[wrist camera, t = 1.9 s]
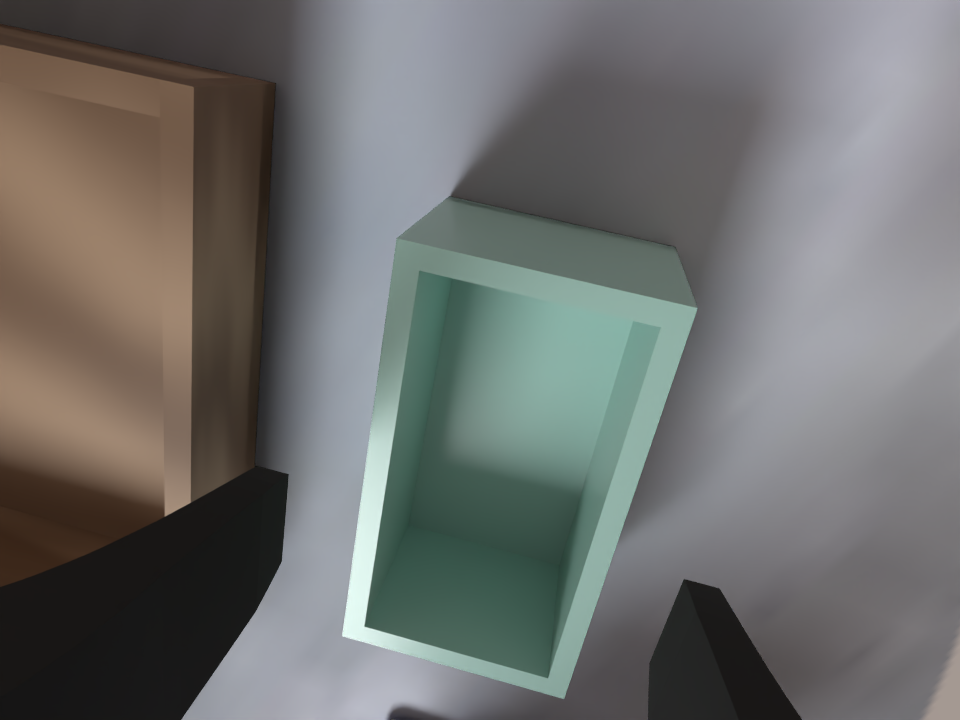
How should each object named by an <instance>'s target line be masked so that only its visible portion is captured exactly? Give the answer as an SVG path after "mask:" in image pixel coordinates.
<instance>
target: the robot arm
mask: <svg viewBox="0 0 960 720" xmlns="http://www.w3.org/2000/svg"><path fill="white" fill-rule="evenodd" d="M288 475H289V474H285V473H282V472H278V471H274V470H270V469H266V468H263V467H259V466H256V467H254V468H252V469H250V470H248V471H247V472H245V473H243V474H241V475H239V476H238V477H236V478H234V479H232V480H230V481H229V482H227V483H225V484H223V485H222V486H220V487H218V488H216V489H214V490H213V491H211V492H209V493H207V494H205V495H204V496H202V497H200V498H198V499H197V500H195V501H193V502H191V503H189V504H187V505H186V506H184V507H182V508H180V509H178V510H176V511H174V512H172V513H171V514H169V515H167V516H165V517H163V518H161V519H159V520H158V521H156V522H154V523H151V524H149V525H147V526H145V527H143V528H141V529H139V530H137V531H135V532H133V533H131V534H129V535H127V536H125V537H123V538H121V539H118V540H116V541H114V542H112V543H110V544H108V545H106V546H104V547H102V548H100V549H97V550H95V551H93V552H91V553H88V554H86V555H84V556H81V557H79V558H77V559H74V560H72V561H69V562H67V563H64V564H62V565H59V566H57V567H54V568H52V569H49V570H46V571H44V572H41V573H39V574H36V575H34V576H31V577H28V578H25V579H23V580H20V581H17V582H14V583H11V584H8V585H5V586H2V587H0V720H181V719H182V718H183V716H184V715H185V713H186V712H187V710H188V709H189V707H190V706H191V705H192V703H193V702H194V700H195V699H196V697H197V696H198V694H199V693H200V692H201V690H202V689H203V687H204V686H205V684H206V683H207V682H208V680H209V679H210V677H211V676H212V674H213V673H214V671H215V670H216V669H217V667H218V666H219V664H220V663H221V661H222V660H223V658H224V657H225V656H226V654H227V653H228V651H229V650H230V648H231V647H232V645H233V644H234V642H235V641H236V640H237V638H238V637H239V635H240V634H241V632H242V631H243V629H244V628H245V626H246V625H247V623H248V622H249V620H250V619H251V617H252V616H253V614H254V613H255V612H256V610H257V608H258V606H259V604H260V602H261V601H262V599H263V597H264V595H265V593H266V591H267V589H268V587H269V586H270V584H271V582H272V580H273V578H274V576H275V574H276V572H277V570H278V568H279V566H280V564H281V562H282V551H283V539H284V526H285V513H286V500H287V487H288ZM392 720H394V719H392ZM648 720H802V719H801V717H800V716H799V715H798V713H797V712H796V710H795V709H794V707H793V706H792V704H791V703H790V701H789V700H788V698H787V697H786V695H785V694H784V692H783V691H782V689H781V688H780V686H779V685H778V683H777V682H776V680H775V678H774V677H773V675H772V674H771V672H770V671H769V669H768V668H767V666H766V664H765V663H764V661H763V660H762V658H761V656H760V655H759V653H758V651H757V650H756V648H755V647H754V645H753V643H752V642H751V640H750V638H749V637H748V635H747V633H746V632H745V630H744V628H743V627H742V625H741V623H740V622H739V620H738V618H737V617H736V615H735V613H734V612H733V610H732V608H731V607H730V605H729V603H728V602H727V600H726V598H725V597H724V595H723V594H722V592H721V590H720V589H719V588H715V587H712V586H708V585H704V584H700V583H697V582H693V581H689V580H685V579H684V580H683V583H682V585H681V588H680V590H679V593H678V595H677V597H676V600H675V602H674V605H673V607H672V610H671V612H670V615H669V617H668V619H667V622H666V624H665V627H664V629H663V632H662V634H661V637H660V639H659V642H658V644H657V646H656V649H655V651H654V654H653V656H652V659H651V661H650V669H649V701H648Z"/></svg>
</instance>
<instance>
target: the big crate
mask: <svg viewBox="0 0 960 720" xmlns="http://www.w3.org/2000/svg"><path fill="white" fill-rule="evenodd" d="M275 84H276V83H272V82H267V81H263V80H258V79H253V78H249V77H244V76H239V75H235V74H230V73H226V72H221V71H216V70H212V69H207V68H202V67H198V66H193V65H189V64H184V63H179V62H175V61H170V60H165V59H161V58H156V57H151V56H147V55H142V54H138V53H133V52H128V51H124V50H119V49H114V48H110V47H105V46H101V45H96V44H91V43H87V42H82V41H77V40H73V39H68V38H63V37H59V36H54V35H50V34H45V33H40V32H36V31H31V30H26V29H22V28H17V27H12V26H8V25H3V24H0V587H2V586H5V585H8V584H11V583H14V582H17V581H20V580H23V579H25V578H28V577H31V576H34V575H36V574H39V573H41V572H44V571H46V570H49V569H52V568H54V567H57V566H59V565H62V564H64V563H67V562H69V561H72V560H74V559H77V558H79V557H81V556H84V555H86V554H88V553H91V552H93V551H95V550H97V549H100V548H102V547H104V546H106V545H108V544H110V543H112V542H114V541H116V540H118V539H121V538H123V537H125V536H127V535H129V534H131V533H133V532H135V531H137V530H139V529H141V528H143V527H145V526H147V525H149V524H151V523H154V522H156V521H158V520H159V519H161V518H163V517H165V516H167V515H169V514H171V513H172V512H174V511H176V510H178V509H180V508H182V507H184V506H186V505H187V504H189V503H191V502H193V501H195V500H197V499H198V498H200V497H202V496H204V495H205V494H207V493H209V492H211V491H213V490H214V489H216V488H218V487H220V486H222V485H223V484H225V483H227V482H229V481H230V480H232V479H234V478H236V477H238V476H239V475H241V474H243V473H245V472H247V471H248V470H250V469H252V468H254V467H255V449H256V430H257V412H258V394H259V376H260V358H261V339H262V321H263V303H264V285H265V267H266V248H267V230H268V212H269V194H270V175H271V157H272V139H273V121H274V103H275Z"/></svg>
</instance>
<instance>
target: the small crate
mask: <svg viewBox="0 0 960 720" xmlns="http://www.w3.org/2000/svg"><path fill="white" fill-rule="evenodd" d="M697 309H698V308H697V305H696V302H695V299H694V297H693V294H692V291H691V289H690V286H689V283H688V280H687V278H686V275H685V272H684V270H683V267H682V264H681V262H680V259H679V256H678V253H677V251H676V248H675V247H672V246H668V245H663V244H659V243H655V242H650V241H646V240H641V239H637V238H632V237H628V236H623V235H619V234H615V233H610V232H606V231H601V230H597V229H592V228H588V227H583V226H579V225H575V224H570V223H566V222H561V221H557V220H552V219H548V218H544V217H539V216H535V215H530V214H526V213H521V212H517V211H512V210H508V209H504V208H499V207H495V206H490V205H486V204H481V203H477V202H473V201H468V200H464V199H459V198H455V197H450V196H449V197H448V198H447V199H445V200H444V201H443V202H442V203H440V204H439V205H438V206H437V207H435V208H434V209H433V210H432V211H430V212H429V213H428V214H427V215H425V216H424V217H423V218H422V219H420V220H419V221H418V222H416V223H415V224H414V225H413V226H411V227H410V228H409V229H408V230H406V231H405V232H404V233H403V234H401V235H400V236H399V237H398V238H397V240H396V247H395V254H394V262H393V269H392V276H391V284H390V291H389V298H388V305H387V313H386V320H385V327H384V335H383V342H382V349H381V357H380V364H379V371H378V379H377V386H376V393H375V400H374V408H373V415H372V422H371V430H370V437H369V444H368V452H367V459H366V466H365V474H364V481H363V488H362V495H361V503H360V510H359V517H358V525H357V532H356V539H355V547H354V554H353V561H352V569H351V576H350V583H349V591H348V598H347V605H346V612H345V620H344V627H343V634H342V636H344V637H347V638H351V639H354V640H358V641H361V642H365V643H368V644H372V645H375V646H379V647H382V648H386V649H389V650H393V651H396V652H400V653H403V654H407V655H410V656H414V657H418V658H421V659H425V660H428V661H432V662H435V663H439V664H442V665H446V666H449V667H453V668H456V669H460V670H463V671H467V672H470V673H474V674H477V675H481V676H484V677H488V678H491V679H495V680H498V681H502V682H506V683H509V684H513V685H516V686H520V687H523V688H527V689H530V690H534V691H537V692H541V693H544V694H548V695H551V696H555V697H558V698H562V699H564V698H565V695H566V692H567V689H568V686H569V683H570V680H571V677H572V674H573V671H574V668H575V665H576V663H577V660H578V657H579V654H580V651H581V648H582V645H583V642H584V639H585V636H586V633H587V630H588V627H589V625H590V622H591V619H592V616H593V613H594V610H595V607H596V604H597V601H598V598H599V595H600V592H601V589H602V587H603V584H604V581H605V578H606V575H607V572H608V569H609V566H610V563H611V560H612V557H613V554H614V551H615V549H616V546H617V543H618V540H619V537H620V534H621V531H622V528H623V525H624V522H625V519H626V516H627V513H628V511H629V508H630V505H631V502H632V499H633V496H634V493H635V490H636V487H637V484H638V481H639V478H640V475H641V473H642V470H643V467H644V464H645V461H646V458H647V455H648V452H649V449H650V446H651V443H652V440H653V437H654V435H655V432H656V429H657V426H658V423H659V420H660V417H661V414H662V411H663V408H664V405H665V402H666V399H667V397H668V394H669V391H670V388H671V385H672V382H673V379H674V376H675V373H676V370H677V367H678V364H679V361H680V359H681V356H682V353H683V350H684V347H685V344H686V341H687V338H688V335H689V332H690V329H691V326H692V323H693V321H694V318H695V315H696V312H697Z"/></svg>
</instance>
